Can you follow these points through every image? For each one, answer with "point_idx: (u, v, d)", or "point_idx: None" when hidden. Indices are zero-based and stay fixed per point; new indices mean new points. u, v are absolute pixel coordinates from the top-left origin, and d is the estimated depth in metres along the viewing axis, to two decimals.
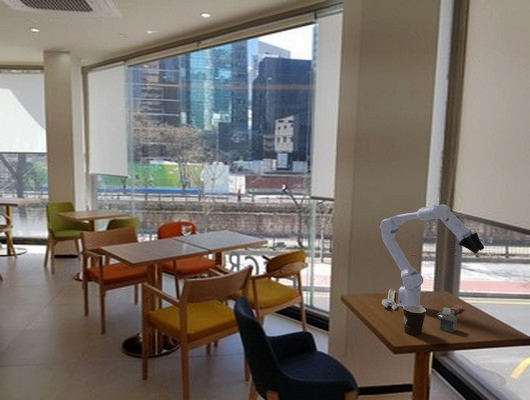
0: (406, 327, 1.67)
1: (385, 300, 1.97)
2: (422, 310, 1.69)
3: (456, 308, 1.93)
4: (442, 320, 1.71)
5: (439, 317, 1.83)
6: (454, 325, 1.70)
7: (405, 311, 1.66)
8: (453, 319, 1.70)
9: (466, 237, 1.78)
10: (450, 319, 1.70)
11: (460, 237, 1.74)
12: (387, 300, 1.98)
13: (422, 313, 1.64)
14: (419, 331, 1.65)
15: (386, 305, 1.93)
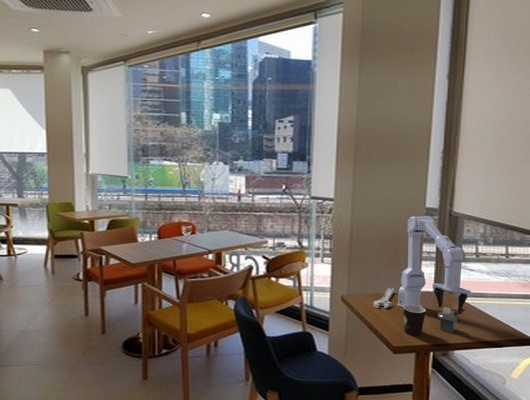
0: (406, 327, 1.67)
1: (376, 301, 1.99)
2: (422, 310, 1.69)
3: (456, 308, 1.93)
4: (442, 320, 1.71)
5: (439, 317, 1.83)
6: (454, 325, 1.70)
7: (405, 311, 1.66)
8: (453, 319, 1.70)
9: None
10: (450, 319, 1.70)
11: None
12: (379, 301, 1.99)
13: (422, 313, 1.64)
14: (419, 331, 1.65)
15: (377, 306, 1.94)
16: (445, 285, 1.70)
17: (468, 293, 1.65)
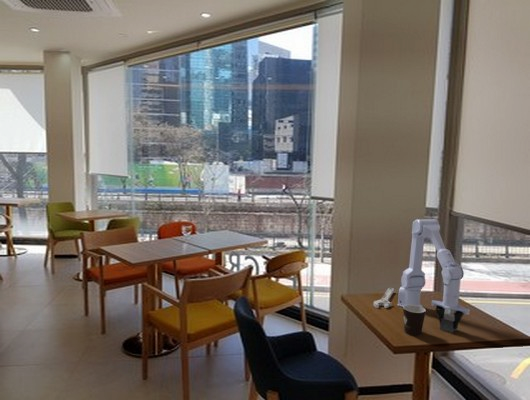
0: (406, 327, 1.67)
1: (376, 301, 1.99)
2: (422, 310, 1.69)
3: None
4: (442, 320, 1.71)
5: None
6: None
7: (405, 311, 1.66)
8: (453, 319, 1.70)
9: None
10: (450, 319, 1.70)
11: None
12: (379, 301, 1.99)
13: (422, 313, 1.64)
14: (419, 331, 1.65)
15: (377, 306, 1.94)
16: (444, 303, 1.70)
17: (467, 311, 1.66)
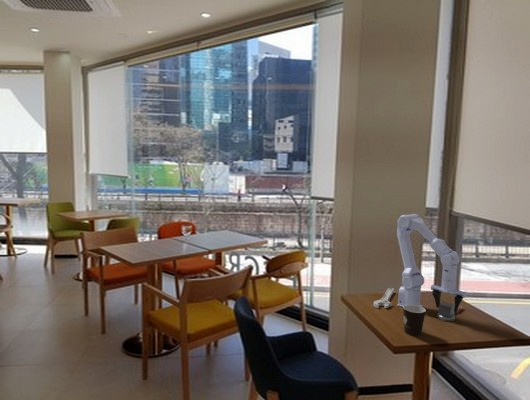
0: (406, 327, 1.67)
1: (376, 301, 1.99)
2: (422, 310, 1.69)
3: None
4: (440, 306, 1.83)
5: (439, 317, 1.83)
6: (451, 310, 1.82)
7: (405, 311, 1.66)
8: (450, 305, 1.82)
9: (444, 292, 1.84)
10: (448, 305, 1.82)
11: None
12: (379, 301, 1.99)
13: (422, 313, 1.64)
14: (419, 331, 1.65)
15: (377, 306, 1.94)
16: (442, 287, 1.82)
17: (463, 294, 1.78)
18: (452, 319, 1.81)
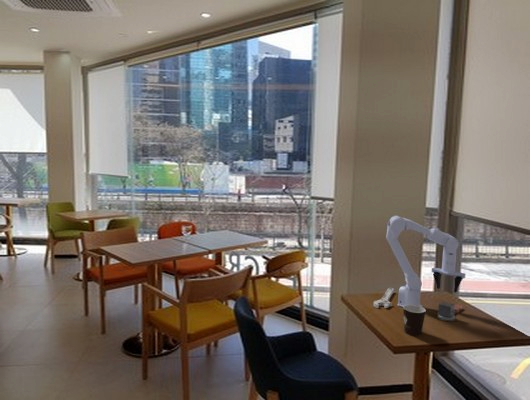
0: (406, 327, 1.67)
1: (376, 301, 1.99)
2: (422, 310, 1.69)
3: (456, 308, 1.93)
4: (440, 306, 1.83)
5: (439, 317, 1.83)
6: (451, 310, 1.82)
7: (405, 311, 1.66)
8: (450, 305, 1.82)
9: None
10: (448, 305, 1.82)
11: None
12: (379, 301, 1.99)
13: (422, 313, 1.64)
14: (419, 331, 1.65)
15: (377, 306, 1.94)
16: (443, 269, 1.92)
17: (463, 275, 1.88)
18: (452, 319, 1.81)
